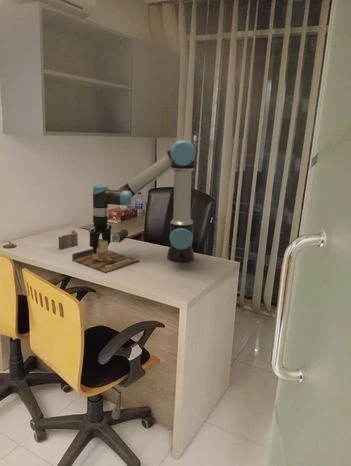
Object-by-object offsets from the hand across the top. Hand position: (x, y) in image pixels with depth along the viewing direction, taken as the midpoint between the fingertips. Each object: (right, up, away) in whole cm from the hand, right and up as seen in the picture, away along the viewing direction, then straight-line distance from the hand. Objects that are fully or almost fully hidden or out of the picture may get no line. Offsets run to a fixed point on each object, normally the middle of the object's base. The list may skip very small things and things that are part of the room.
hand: (100, 257), depth 193 cm
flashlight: (+4, +9, +43) cm, 44 cm away
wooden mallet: (+3, -1, -2) cm, 4 cm away
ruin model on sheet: (-23, +4, +22) cm, 32 cm away
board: (+3, -2, +1) cm, 4 cm away
